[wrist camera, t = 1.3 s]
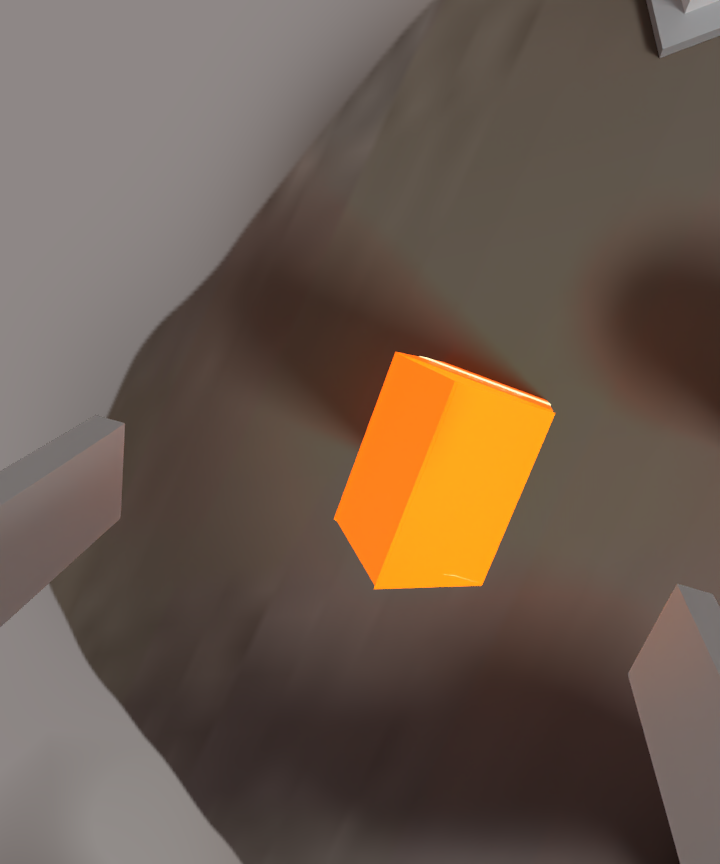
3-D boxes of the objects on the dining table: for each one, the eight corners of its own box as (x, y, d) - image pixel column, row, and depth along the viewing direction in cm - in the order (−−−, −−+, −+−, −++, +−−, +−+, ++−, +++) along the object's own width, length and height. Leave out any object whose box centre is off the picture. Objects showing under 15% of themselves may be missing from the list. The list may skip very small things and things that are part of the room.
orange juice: (396, 475, 43) (286, 549, 24) (441, 359, 42) (360, 341, 22) (500, 519, 41) (468, 638, 22) (550, 400, 40) (563, 417, 21)
